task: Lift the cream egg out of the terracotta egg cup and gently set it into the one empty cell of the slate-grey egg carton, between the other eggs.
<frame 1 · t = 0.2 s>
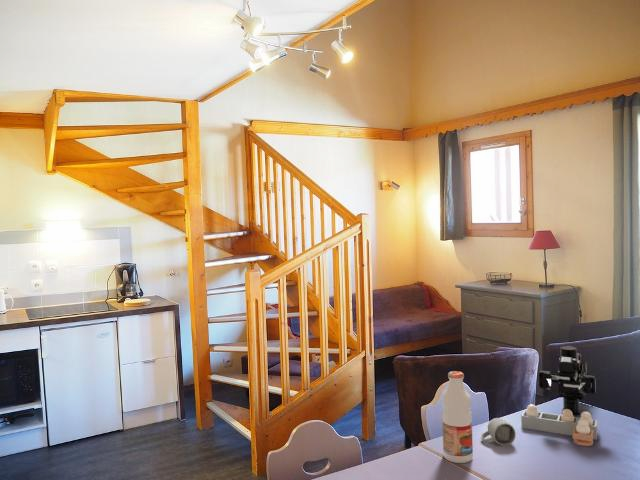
hand: (564, 389, 184), 17 cm above the table, tool horizontal, fingers open, 9 cm apart
egg cup: (583, 442, 179), on the table
ceramic mug: (497, 442, 183), on the table
fruit juice: (458, 457, 172), on the table
egg carton: (558, 430, 190), on the table
egg: (583, 435, 179), point 2 cm above the table, touching egg cup
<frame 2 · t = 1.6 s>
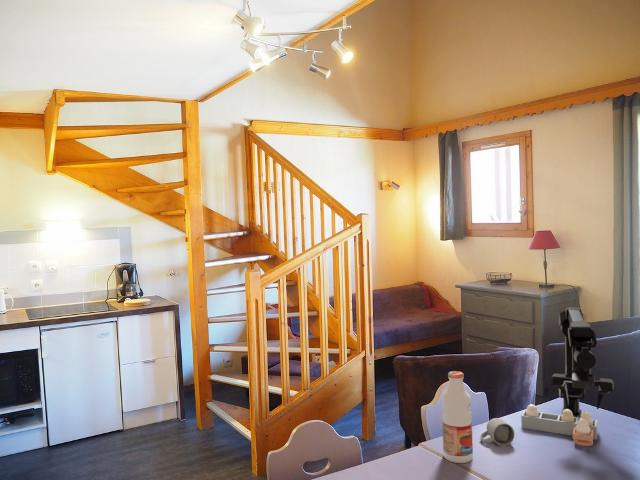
hand: (582, 407, 179), 12 cm above the table, tool pointing down, fingers open, 9 cm apart
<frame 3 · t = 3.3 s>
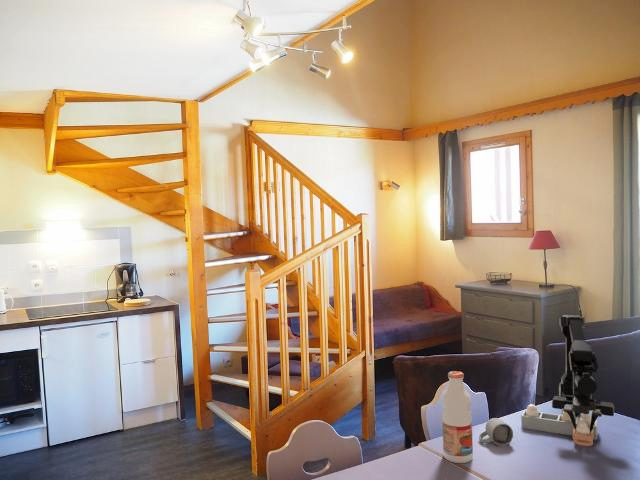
hand: (583, 430, 179), 4 cm above the table, tool pointing down, fingers closed on egg, 4 cm apart
egg: (583, 435, 179), point 2 cm above the table, touching egg cup, gripper
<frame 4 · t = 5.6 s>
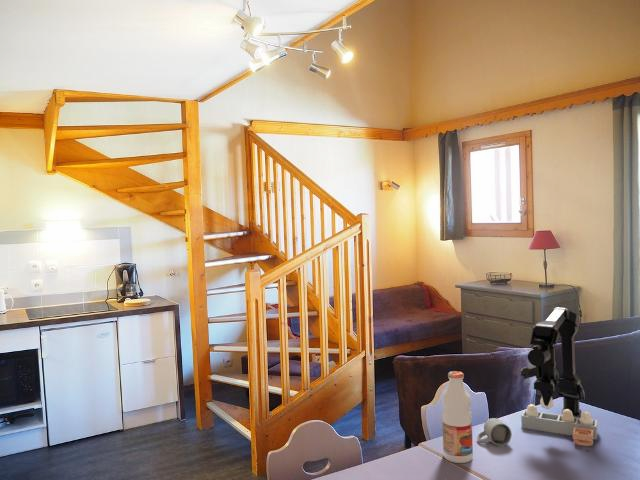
hand: (547, 403, 185), 12 cm above the table, tool pointing down, fingers closed on egg, 4 cm apart
egg: (547, 408, 185), point 10 cm above the table, touching gripper
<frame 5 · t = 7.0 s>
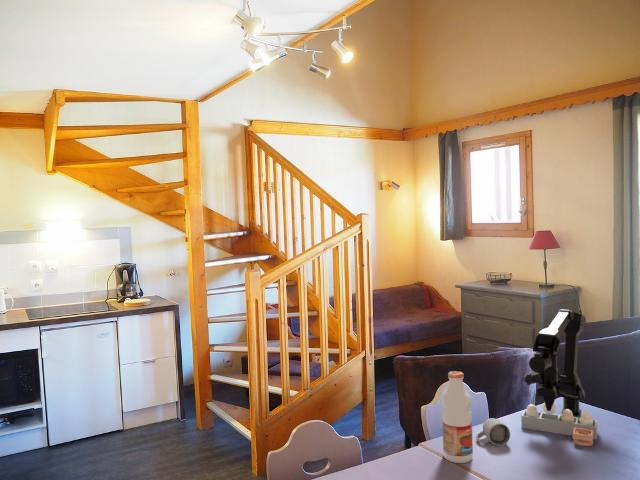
hand: (549, 408, 192), 7 cm above the table, tool pointing down, fingers closed on egg, 4 cm apart
egg: (549, 413, 192), point 6 cm above the table, touching gripper
when the fingers open (6 cm above the table, at t = 8.1 s): egg drops 1 cm, resting on egg carton.
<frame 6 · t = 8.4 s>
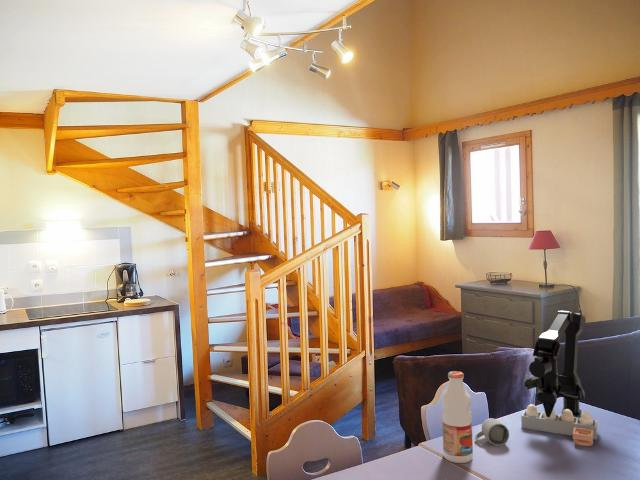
hand: (549, 413, 192), 6 cm above the table, tool pointing down, fingers open, 8 cm apart
egg: (549, 422, 192), point 2 cm above the table, touching egg carton
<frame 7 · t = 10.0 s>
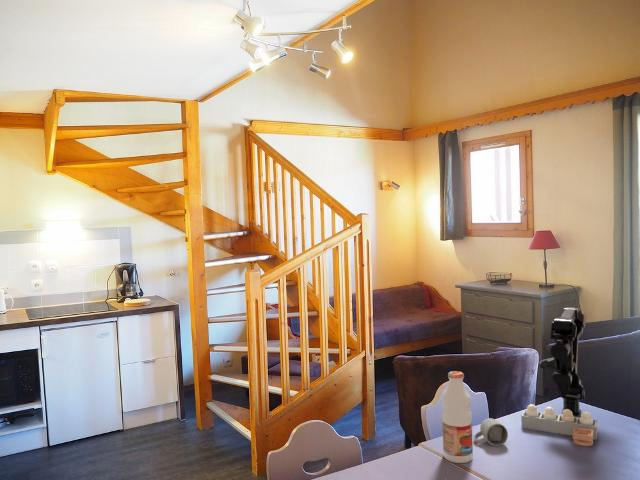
hand: (565, 394, 194), 12 cm above the table, tool pointing down, fingers open, 9 cm apart
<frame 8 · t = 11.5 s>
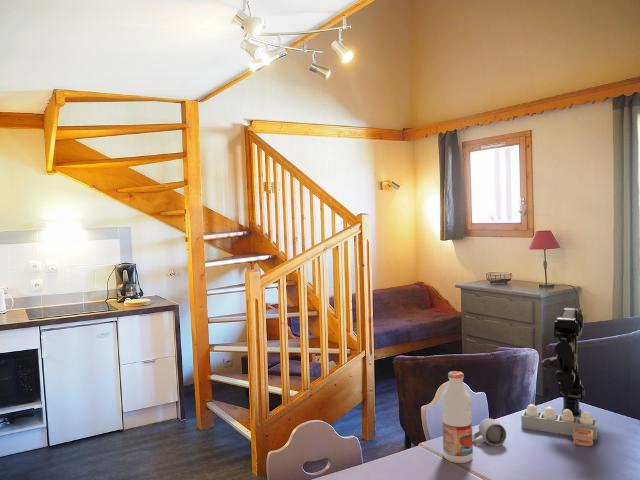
hand: (567, 393, 194), 12 cm above the table, tool pointing down, fingers open, 9 cm apart
at the end: egg 0.0 cm from the target spot on the egg carton, point 2.4 cm above the egg carton's base; egg tilted 1°; the gripper is holding nothing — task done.
